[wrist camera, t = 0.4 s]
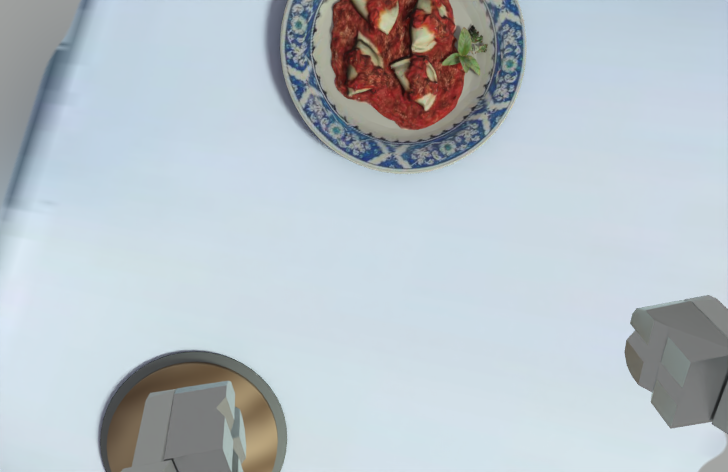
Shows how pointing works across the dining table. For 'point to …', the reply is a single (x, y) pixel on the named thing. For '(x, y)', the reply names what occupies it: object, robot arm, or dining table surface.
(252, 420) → the lid
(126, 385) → the tray
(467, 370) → the dining table surface
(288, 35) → the ceramic plate
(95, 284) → the dining table surface
